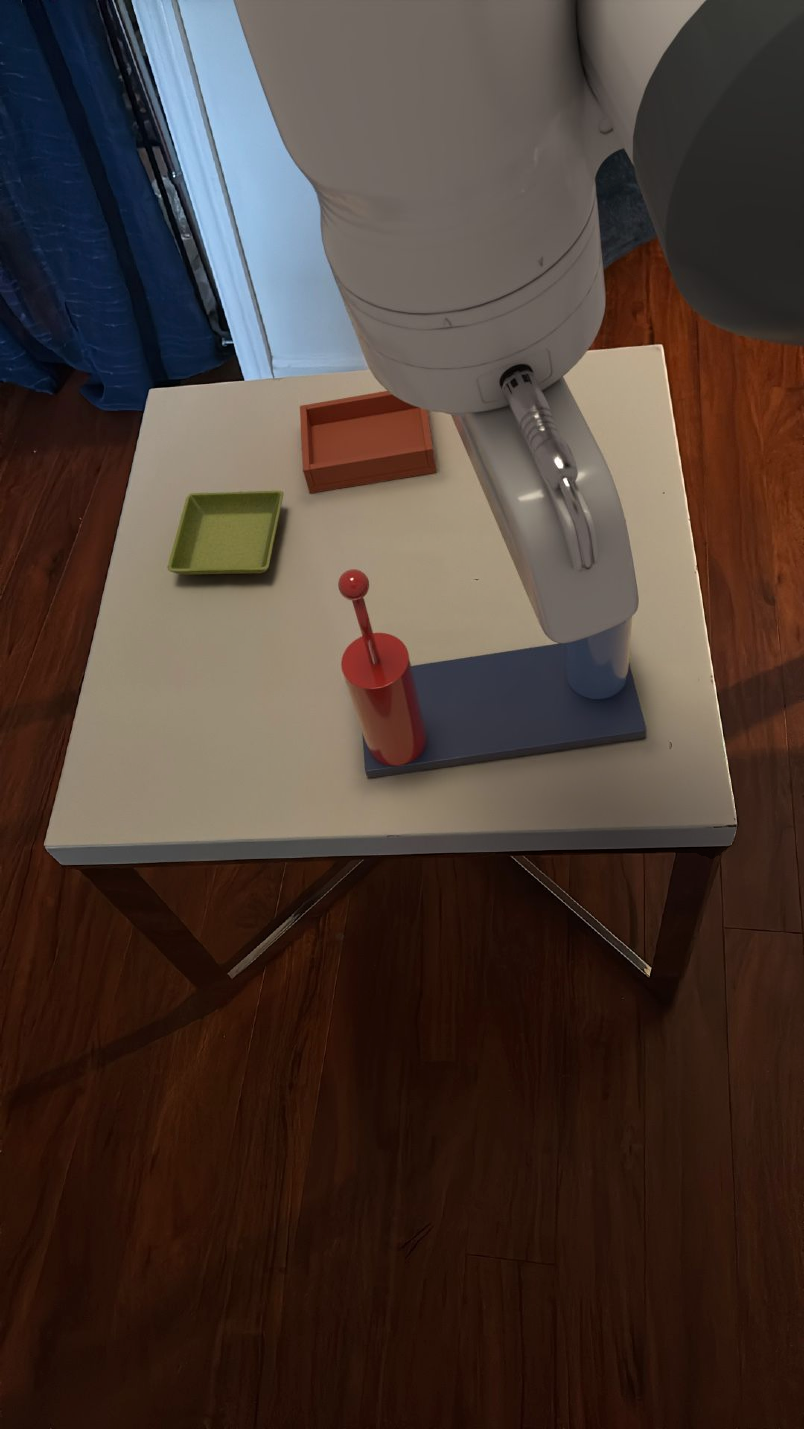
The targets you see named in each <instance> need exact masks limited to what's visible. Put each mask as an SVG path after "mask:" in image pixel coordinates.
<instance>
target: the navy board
mask: <svg viewBox="0 0 804 1429" xmlns="http://www.w3.org/2000/svg"><path fill="white" fill-rule="evenodd" d="M411 667H412V671H413V675H414V680H415V684H416V688H417V693H418V697H419V701H420V706H421V710H422V714H423V719H424V723H425V727H426V732H427V743H426V746H425V748H424V750H423V752H422V753H421V754H420V755H419V756H418V757H417V758H416V759H415V760H413V761H411V762H409V763H407V764H404V765H399V766H390V765H385V764H383V763H380V762H378V761H377V760H376V759H374V758H373V757H372V755H371V754H370V752H369V750H368V747H367V744H366V741H365V738H364V735H363V732H362V731H361V734H362V748H363V759H364V760H363V761H364V772H365V775H366V778H367V779H372V778H378V777H384V776H385V777H386V776H392V775H399V774H406V773H415V772H420V771H427V770H433V769H440V768H447V767H454V766H460V765H461V766H462V765H469V764H475V763H481V762H488V761H494V760H495V761H496V760H502V759H509V758H516V757H517V758H518V757H524V756H529V755H536V754H543V753H550V752H557V751H565V750H571V749H577V748H585V747H592V746H598V745H606V744H612V743H619V742H626V741H633V740H641V739H645V738H646V737H647V726H646V723H645V719H644V718H645V717H644V715H643V711H642V706H641V703H640V699H639V695H638V691H637V686H636V683H635V679H634V675H633V671H632V667H631V663H630V662H629V667H628V678H627V682H626V684H625V686H624V687H623V688H622V689H621V691H619V692H618V693H617V694H615V695H614V696H611V697H609V698H605V699H589V698H586V697H583V696H581V695H579V694H578V693H576V692H575V691H574V690H573V689H572V688H571V687H570V685H569V683H568V681H567V676H566V643H551V644H547V645H540V646H532V647H527V648H520V649H519V648H518V649H514V650H509V651H508V650H507V651H500V652H494V653H486V654H482V655H475V656H468V657H461V658H455V659H447V660H441V661H435V662H427V663H422V664H416V665H411Z"/></svg>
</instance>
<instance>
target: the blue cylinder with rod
mask: <svg viewBox="0 0 804 1429" xmlns="http://www.w3.org/2000/svg"><path fill="white" fill-rule="evenodd" d="M632 627H633V616H632V617H631V618H629V619H628V620H626V621H624V622H623V623H620V624H618V625H616V626H614V627H612V628H610V629H607V630H605V631H602V632H600V633H597V634H595V635H592V636H589V637H586V638H583V639H580V640H577V641H573V642H569V643H566V676H567V681H568V683H569V685H570V687H571V688H572V689H573V690H574V691H575V692H576V693H578V694H579V695H581V696H583V697H586V698H589V699H605V698H609V697H611V696H614V695H615V694H617V693H618V692H619V691H621V689H622V688H623V687H624V686H625V684H626V682H627V678H628V667H629V663H630V654H631V641H632V640H631V639H632Z"/></svg>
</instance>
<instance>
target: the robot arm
mask: <svg viewBox="0 0 804 1429" xmlns="http://www.w3.org/2000/svg"><path fill="white" fill-rule="evenodd" d="M232 1H233V4H234V7H235V10H236V14H237V17H238V21H239V24H240V27H241V31H242V33H243V36H244V40H245V42H246V46H247V48H248V51H249V54H250V57H251V60H252V63H253V66H254V68H255V72H256V75H257V77H258V80H259V83H260V86H261V89H262V91H263V94H264V97H265V99H266V102H267V105H268V108H269V111H270V113H271V116H272V118H273V121H274V124H275V126H276V129H277V132H278V134H279V137H280V139H281V141H282V144H283V146H284V148H285V149H286V152H287V153H288V155H289V156H290V158H291V160H292V162H293V163H294V165H295V166H296V167H297V169H298V170H299V171H300V172H301V174H303V176H304V177H305V179H307V181H308V182H309V183H310V184H311V187H312V188H313V191H314V192H315V194H316V198H317V202H318V205H319V206H318V207H319V224H320V234H321V235H320V236H321V242H322V246H323V250H324V254H325V257H326V260H327V263H328V265H329V267H330V271H331V274H332V276H333V279H334V281H335V284H336V287H337V289H338V292H339V294H340V297H341V300H342V302H343V305H344V308H345V310H346V313H347V316H348V318H349V320H350V322H351V323H350V324H351V325H352V328H353V330H354V333H355V336H356V339H357V342H358V344H359V347H360V350H361V353H362V355H363V358H364V360H365V363H366V365H367V367H368V369H369V371H370V372H371V374H372V376H373V377H374V379H376V381H377V382H378V383H379V384H380V385H381V386H382V388H383V389H385V391H388V392H390V393H391V394H392V395H394V396H395V397H397V398H399V399H400V400H402V401H404V402H406V403H408V404H411V405H413V406H416V407H419V408H422V409H426V410H427V411H430V412H435V413H443V414H447V415H450V416H451V418H452V421H453V424H454V426H455V428H456V430H457V432H458V436H459V437H460V440H461V442H462V444H463V447H464V449H465V451H466V454H467V456H468V459H469V461H470V464H471V466H472V468H473V471H474V473H475V475H476V478H477V480H478V482H479V485H480V487H481V489H482V492H483V495H484V497H485V499H486V502H487V503H488V506H489V508H490V510H491V513H492V515H493V518H494V520H495V522H496V525H497V527H498V529H499V532H500V534H501V536H502V539H503V542H504V544H505V546H506V548H507V551H508V553H509V556H510V558H511V560H512V562H513V565H514V567H515V570H516V572H517V575H518V577H519V580H520V581H521V584H522V586H523V589H524V591H525V594H526V595H527V598H528V600H529V603H530V605H531V608H532V610H533V612H534V615H535V617H536V619H537V621H538V623H539V626H540V628H541V630H542V631H543V633H544V634H545V636H546V637H547V638H548V639H549V640H550V641H552V642H554V643H555V644H559V643H569V642H573V641H577V640H580V639H583V638H586V637H589V636H592V635H595V634H597V633H600V632H602V631H605V630H607V629H610V628H612V627H614V626H616V625H618V624H620V623H623V622H624V621H626V620H628V619H629V618H631V617H632V618H633V616H634V615H635V614H636V613H637V612H638V608H639V602H640V601H639V600H640V598H639V597H640V596H639V590H638V583H637V577H636V576H637V575H636V570H635V569H636V568H635V565H634V558H633V552H632V546H631V541H630V535H629V531H628V525H627V521H626V517H625V512H624V509H623V505H622V502H621V498H620V495H619V491H618V489H617V486H616V483H615V480H614V478H613V475H612V472H611V470H610V467H609V465H608V463H607V461H606V459H605V456H604V454H603V452H602V450H601V448H600V447H599V446H600V445H599V444H598V442H597V440H596V439H595V436H594V434H593V433H592V431H591V429H590V426H589V425H588V423H587V420H586V419H585V417H584V415H583V413H582V411H581V409H580V407H579V406H578V403H577V401H576V399H575V396H574V395H573V393H572V391H571V389H570V387H569V385H568V383H567V381H566V379H565V377H564V376H565V375H567V374H568V373H569V372H570V370H572V369H573V368H574V367H575V366H576V365H577V364H578V363H579V362H580V361H581V360H582V358H583V357H584V356H585V355H586V354H587V352H588V350H589V349H590V347H592V344H593V343H594V341H595V339H596V337H597V336H598V333H599V331H600V328H601V326H602V323H603V319H604V316H605V311H606V300H607V299H606V298H607V296H606V295H607V294H606V284H605V273H604V263H603V262H604V261H603V252H602V239H601V237H602V236H601V228H600V217H599V216H600V215H599V206H598V197H597V184H596V176H597V173H598V171H599V169H600V167H601V165H603V162H605V160H606V159H607V158H608V157H609V156H611V155H612V154H614V153H615V152H617V151H620V150H623V149H624V151H625V153H626V154H627V157H628V159H629V160H630V162H631V164H632V166H633V168H634V169H633V170H634V175H635V180H636V182H637V184H638V188H639V190H640V193H641V195H642V198H643V201H644V204H645V206H646V209H647V212H648V214H649V217H650V221H651V223H652V226H653V228H654V231H655V234H656V237H657V239H658V243H659V245H660V248H661V250H662V254H663V255H664V258H665V261H666V265H667V267H668V269H669V273H670V275H671V277H672V280H673V282H674V284H675V287H676V288H677V290H678V292H679V294H680V295H681V296H682V298H683V300H684V301H685V302H686V303H687V305H689V307H691V309H692V310H693V311H694V312H696V313H697V315H699V316H700V317H701V318H703V319H704V320H706V321H707V322H708V323H710V324H712V325H714V326H715V327H717V328H719V329H722V330H724V331H726V332H728V333H731V334H734V335H738V336H740V337H744V338H749V339H753V340H757V341H762V342H767V343H774V344H778V345H779V344H781V345H787V346H788V345H789V346H795V347H804V0H232Z"/></svg>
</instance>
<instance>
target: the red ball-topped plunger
mask: <svg viewBox="0 0 804 1429" xmlns="http://www.w3.org/2000/svg"><path fill="white" fill-rule="evenodd" d="M337 582H338V583H337V586H338V591H339V593H340V594H341V596H342V597H344V598H345V599H347V600H349V601H351V602H352V605H353V610H354V613H355V615H356V620H357V623H358V627H359V630H360V633H361V636H359V637H358V638H355V640H353V641H352V642H351V643H350V644H349V645H348V646H347V647H346V649H345V650H344V652H343V654H342V657H341V662H340V666H341V667H340V668H341V671H342V674H343V678H344V680H345V684H346V686H347V690H348V692H349V695H350V698H351V702H352V705H353V708H354V711H355V714H356V717H357V721H358V722H359V727H360V729H361V733H362V732H363V735H364V738H365V741H366V744H367V747H368V750H369V752H370V754H371V755H372V757H373V758H374V759H376V760H377V761H378V762H380V763H383V764H385V765H390V766H399V765H404V764H407V763H409V762H411V761H413V760H415V759H416V758H417V757H418V756H419V755H420V754H421V753H422V752H423V750H424V748H425V746H426V743H427V732H426V727H425V723H424V719H423V714H422V710H421V706H420V701H419V697H418V693H417V688H416V684H415V680H414V675H413V671H412V667H411V666H412V662H411V658H410V654H409V651H408V648H407V646H406V644H405V643H404V642H403V641H402V640H401V639H400V638H398V637H397V636H395V635H393V634H390V633H385V632H374V631H373V628H372V624H371V621H370V616H369V613H368V608H367V606H366V602H365V598H364V597H365V596H366V595H367V594H368V592H369V590H370V581H369V578H368V576H367V575H366V574H365V573H364V572H363V571H362V570H359V569H355V568H353V569H348V570H346V571H344V572H343V573H342V574H341V575H340V577H339V579H338V581H337Z"/></svg>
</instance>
